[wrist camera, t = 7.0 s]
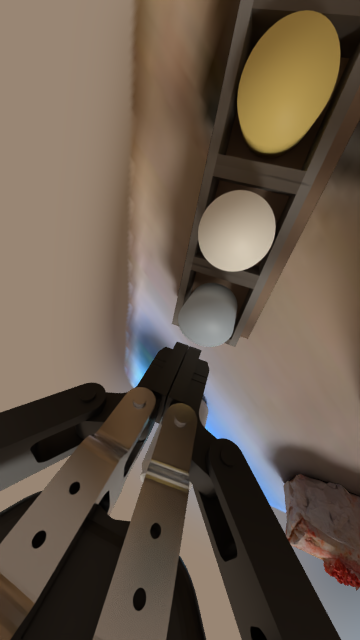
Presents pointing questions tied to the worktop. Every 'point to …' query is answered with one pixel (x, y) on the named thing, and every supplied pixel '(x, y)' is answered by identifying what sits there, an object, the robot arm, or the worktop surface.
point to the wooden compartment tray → (273, 173)
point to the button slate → (208, 315)
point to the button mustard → (287, 82)
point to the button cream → (236, 230)
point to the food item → (325, 525)
